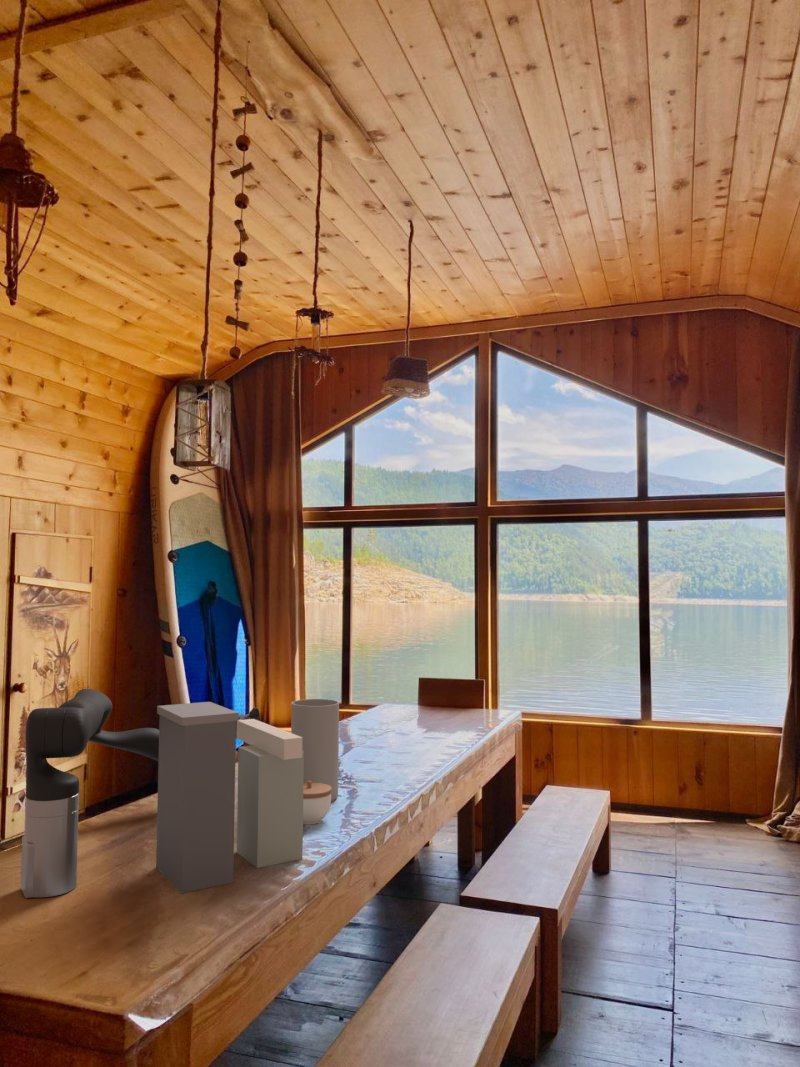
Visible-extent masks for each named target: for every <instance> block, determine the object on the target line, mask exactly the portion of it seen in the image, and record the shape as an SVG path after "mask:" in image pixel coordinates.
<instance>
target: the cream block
mask: <svg viewBox="0 0 800 1067" xmlns="http://www.w3.org/2000/svg"><path fill="white" fill-rule="evenodd" d="M302 739H303V737H300V736H297V735H295V734H292V733H291V731H290V732H289V731H287V730H284V729H281V728H279V727H276V726H273V725H271V724H269V723H266V722H263V721H262V720H261V721H258V720H255V719H249V718H247V719H246V720H241V719H239V721H237V737H236V740H239V741H241V742H244V743H246V744H248V745H249V746H250V745H252V746H254V747H257V748H259V749H261V750H263V751H265V752H268V753H270V754H272V755H274V756H277V757H279V758H281V759H283V760H287V759H295V758H302Z"/></svg>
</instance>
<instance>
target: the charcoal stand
mask: <svg viewBox="0 0 800 1067" xmlns="http://www.w3.org/2000/svg"><path fill="white" fill-rule="evenodd" d="M156 708H157V709H156V711H157V712H156V713H157V715H159V721H158V723H159V724H158V725H159V726H158V728H159V761H158V762H157V763H158V764H157V766H158V770H157V813H156V814H157V815H156V816H157V817H156V818H157V819H156V858H155V860H156V861H155V864H156V866H155V867H156V868H157V870H158V871H159V872H160V873H161V874H162V875H163V876H164V878H166V879H167V880H168V881H169V882H170V883H171V884H172V886H174V888H176V890H177V891H178V892H180V894H185V893H189V892H194V891H200V890H204V889H210V888H215V887H219V886H224V885H228V884H234V865H235V864H234V861H235V858H234V856H235V853H234V852H235V851H234V850H235V805H236V804H235V803H236V802H235V800H236V749H237V748H236V747H237V746H236V745H237V744H236V742H237V738H236V721H239V720H240V719H239V715H240V712H238V711H236V710H233V709H229V708H228V707H224V706H222V705H219V704H218V703H214V702H212V701H201V702H192V703H191V702H189V703H177V704H176V703H175V704H165V705H157V707H156Z"/></svg>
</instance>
